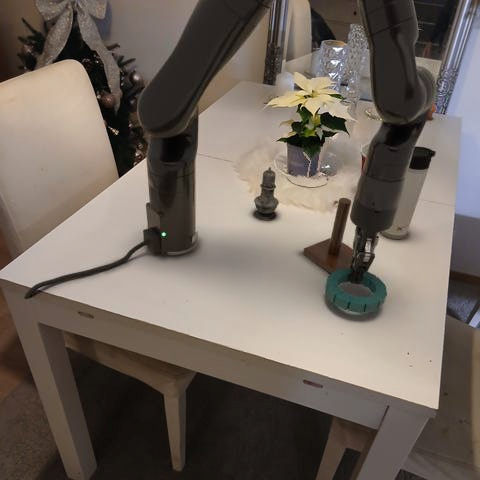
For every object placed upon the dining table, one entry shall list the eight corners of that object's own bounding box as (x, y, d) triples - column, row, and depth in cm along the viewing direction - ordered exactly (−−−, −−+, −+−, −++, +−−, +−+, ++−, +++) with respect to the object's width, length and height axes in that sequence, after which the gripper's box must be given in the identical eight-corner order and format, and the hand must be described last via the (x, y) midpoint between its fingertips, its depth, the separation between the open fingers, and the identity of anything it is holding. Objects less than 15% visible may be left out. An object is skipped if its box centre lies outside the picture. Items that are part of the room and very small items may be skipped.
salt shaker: (275, 222, 112) (281, 174, 104) (250, 218, 113) (254, 170, 105) (278, 210, 116) (284, 163, 108) (255, 207, 117) (259, 159, 109)
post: (332, 275, 97) (345, 216, 89) (302, 254, 103) (312, 196, 94) (362, 262, 102) (377, 204, 93) (332, 242, 107) (344, 186, 98)
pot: (431, 122, 171) (432, 102, 167) (409, 122, 175) (410, 103, 171) (437, 116, 176) (439, 96, 172) (416, 116, 180) (417, 97, 176)
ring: (355, 321, 84) (358, 312, 83) (312, 287, 91) (314, 279, 89) (397, 300, 89) (400, 291, 88) (353, 269, 96) (355, 261, 95)
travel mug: (403, 243, 108) (431, 157, 95) (375, 233, 111) (399, 149, 98) (411, 231, 112) (439, 148, 99) (384, 222, 115) (408, 140, 102)
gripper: (354, 177, 87) (335, 256, 98) (356, 213, 77) (334, 297, 88) (395, 182, 86) (371, 261, 98) (403, 220, 76) (375, 303, 88)
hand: (354, 278), depth 93 cm, fingers closed on ring, 2 cm apart
